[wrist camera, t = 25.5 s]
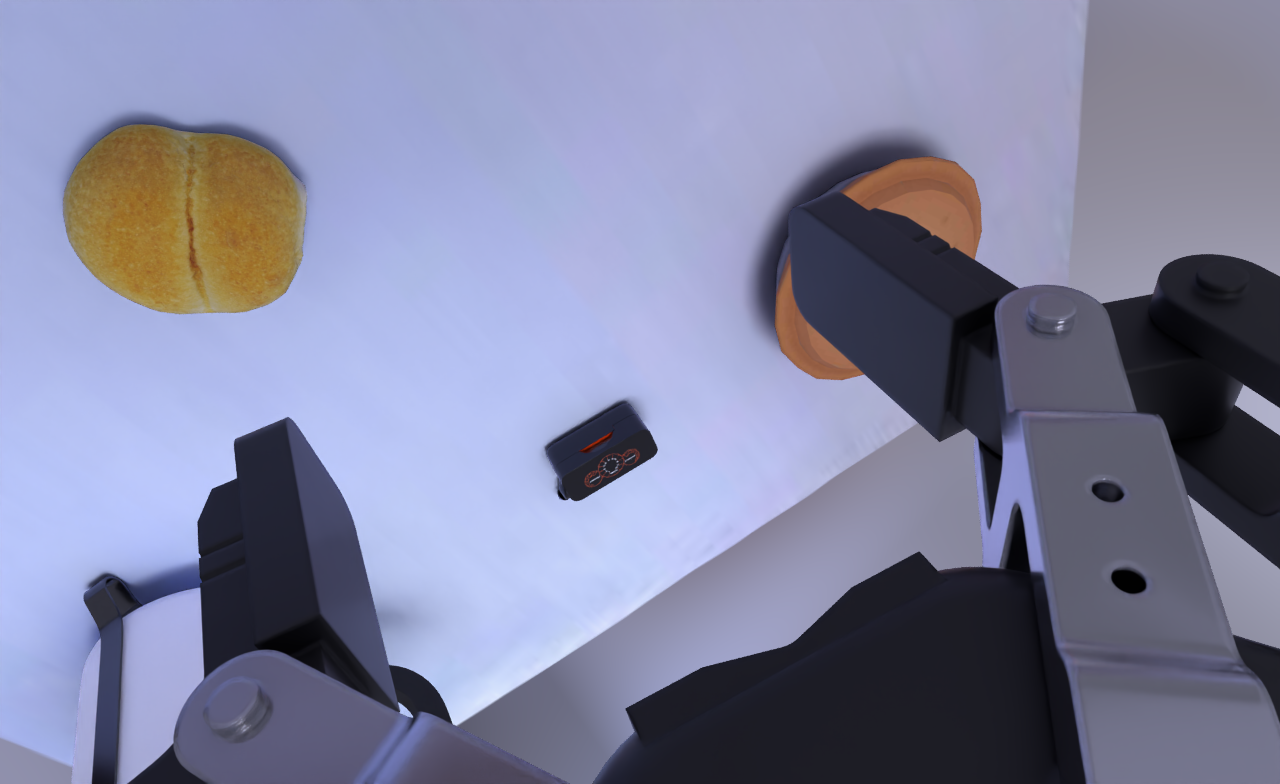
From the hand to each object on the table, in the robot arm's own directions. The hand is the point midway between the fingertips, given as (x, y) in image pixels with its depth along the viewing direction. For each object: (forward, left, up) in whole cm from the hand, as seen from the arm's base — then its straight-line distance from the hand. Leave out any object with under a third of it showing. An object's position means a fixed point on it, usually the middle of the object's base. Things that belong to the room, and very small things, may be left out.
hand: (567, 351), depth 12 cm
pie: (+27, -22, -28) cm, 45 cm away
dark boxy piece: (+7, -30, -28) cm, 42 cm away
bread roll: (-8, -8, -28) cm, 30 cm away
